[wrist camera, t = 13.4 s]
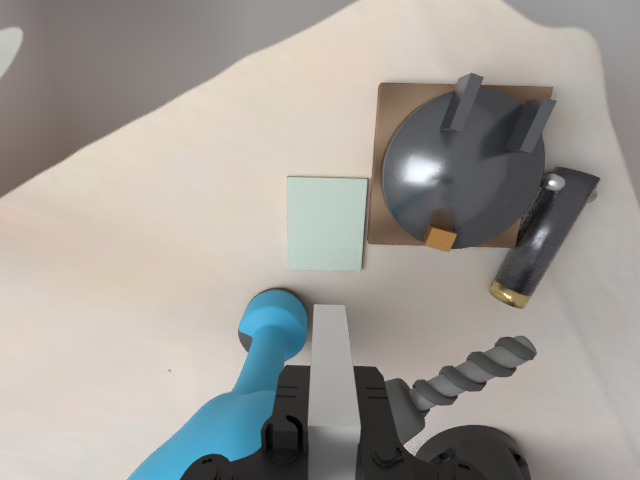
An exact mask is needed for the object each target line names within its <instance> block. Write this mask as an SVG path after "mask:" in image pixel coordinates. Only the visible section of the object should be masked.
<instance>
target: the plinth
mask: <svg viewBox="0 0 640 480" xmlns="http://www.w3.org/2000/svg"><path fill="white" fill-rule="evenodd" d="M455 87H456V85H451V84H410V83H381V84H380V85H379V88H378V101H377V114H376V127H375V140H374V154H373V167H372V180H371V193H370V206H369V220H368V233H367V241H368V243H369V244H382V245H422V246H425V245H424V244H423V243H422V242H421V241H419V240H417V239H415V238H414V237H412V236H411V235H410V234H408V233H407V232H406V231H405V230H404V229H403V228H402V227H401V226H400V225H399V224H398V222H397V221H396V220H395V219H394V217H393V216H392V215H391V213H390V211H389V210H388V208H387V206H386V204H385V201H384V198H383V195H382V191H381V183H380V170H381V162H382V158H383V154H384V151H385V148H386V146H387V144H388V141H389V139H390V138H391V136H392V134H393V132H394V131H395V129H396V128H397V127H398V125H399V124H400V123H401V122H402V121H403V119H404V118H405V117H406V116H407V115H408V114H409V113H411V112H412V111H413V110H414V109H415V108H417V107H418V106H420V105H421V104H423V103H424V102H426V101H428V100H430V99H432V98H434V97H437V96H440V95H443V94H445V93H448V92H451V91H454V90H455ZM480 88H488V89H492V90H496V91H500V92H502V93H505V94H507V95H509V96H511V97H512V98H514V99H516V100H517V101H519V102H520V103H521V104H522V105H523V106H524V105H525V103H526V101H527V100H530V99H536V98H542V97H546V98H549V99H550V97H551V93H552V89H553V87H534V86H493V85H480ZM542 131H543V130H542ZM541 134H542V132H541ZM521 219H522V216H521V217H520V218H519V219H518V220H517V221H516V222H515V223H514V224H513V225H512V226H511V227H510V228H509V229H507V230H506V231H504V232H503V233H502V234H500V235H499V236H497V237H495V238H493V239H491V240H489V241H487V242H484V243H482V244H479V245H476V246H472V247H502V248H515V244H516V239H517V235H518V231H519V227H520V223H521Z"/></svg>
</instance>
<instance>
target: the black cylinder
mask: <svg viewBox="0 0 640 480" xmlns="http://www.w3.org/2000/svg"><path fill="white" fill-rule="evenodd" d="M599 181H600V178H599V177H596V176H593V175H590V174H587V173H583V172H580V171H576V170H572V169H567V168H562V167H556V168H555V169H554V171H553V173H547V174H545V175H543V176H542V179H541V183H540V186H541V187H543V188H544V190H543V192H542V193H541V195H540V197H539V199H538V201H537V203H536V205H535V206H534V208H533V210H532V212H531V214H530V216H529V218H528V219H527V221H526V223H525V225H524V227H523V229H522V230H521V232H520V234H519V236H518V238H517V240H516V244H515V248H512V249H511V251H510V253H509V255H508V256H507V258H506V260H505V262H504V264H503V266H502V268H501V269H500V271H499V273H498V275H497V277H496V279H495V280H494V282H493V284H492V286H491V288H490V290H489V293H490V294H491V295H492V296H494V297H495V298H496V299H498V300H500V301H502V302H503V303H506V304H508V305H510V306H513V307H516V308H520V309H523V308H524V307H525V306H526V304H527V302H528V301H529V299H530V297H531V296H532V294H533V292H534V290H535V289H536V287H537V285H538V284H539V282H540V280H541V279H542V277H543V275H544V274H545V272H546V270H547V269H548V267H549V265H550V263H551V262H552V260H553V258H554V257H555V255H556V253H557V252H558V250H559V248H560V247H561V245H562V243H563V242H564V240H565V238H566V237H567V235H568V233H569V231H570V230H571V228H572V226H573V225H574V223H575V221H576V220H577V218H578V216H579V215H580V213H581V211H582V210H583V208H584V206H585V204H586V203H588V202H592V201H593V200H594V199H595V198H596V197H597V191H596V190H595V188H596V186H597V184H598V183H599Z"/></svg>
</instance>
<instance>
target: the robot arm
mask: <svg viewBox="0 0 640 480" xmlns="http://www.w3.org/2000/svg"><path fill="white" fill-rule="evenodd" d="M180 480H532V479H531V475H530V472H529V468H528V465H527V462H526V460H525V457H524V456H523V454H522V452H521V451H520V449H519V447H518V446H517V444H516V443H515V441H514V440H513V439H512V438H511V437H510V436H509V435H507V434H506V433H504V432H502V431H500V430H498V429H495V428H492V427H488V426H482V425H466V426H459V427H454V428H451V429H448V430H445V431H443V432H441V433H439V434H437V435H435V436H433V437H432V438H430V439H429V440H428V441H427V442H426V443H424V444H423V446H422V447H421V448H420V449H419V450H418V452H417V454H416V456H413V455H412V454H410V453H409V452H408V451H407V450H406V449H405V448H404V446H403V445H402V443H401V442H400V440H399V437H398V435H397V430H396V426H395V422H394V418H393V414H392V410H391V406H390V402H389V400H388V394H387V390H386V386H385V382H384V378H383V376H382V374H381V373H380V372H379V371H378V369H377V368H376V367H370V366H353V362H352V355H351V347H350V339H349V331H348V324H347V316H346V308H345V305H323V304H314V313H313V332H312V351H311V366H297V365H286V366H285V367H284V369H283V370H282V371H281V373H280V374H279V378H278V383H277V389H276V394H275V400H274V405H273V411H272V416H270V417H269V418H268V419H267V420H266V421H265V422H264V424H263V426H262V429H261V447H260V448H259V449H258V450H257V451H256V452H254V453H253V454H251V455H249V456H246V457H244V458H241V459H237V460H234V461H231V462H230V461H229V459H228V458H227V457H225V456H223V455H221V454H208V455H205V456H202V457H200V458H199V459H197V460H196V461H194V462H193V463H192V464H191V465H190V466H189V467H188V468H187V470H186V471H185V472H184V474H183V475H182V477H181V478H180Z"/></svg>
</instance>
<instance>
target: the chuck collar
mask: <svg viewBox="0 0 640 480" xmlns="http://www.w3.org/2000/svg"><path fill="white" fill-rule="evenodd" d="M483 78H484V77H482V76H479V75H475V74H472V73H470V74H468V75H466V76H463V77H461V78H459V80H458V82H457V85H456V87H455V90H454V91H451V92H448V93H445V94H443V95H440V96H437V97H434V98H432V99H430V100H428V101H426V102H424V103H423V104H421V105H420V106H418V107H417V108H415V109H414V110H413V111H412V112H411V113H409V114H408V115H407V116H406V117H405V118H404V119H403V121H402V122H401V123H400V124H399V125H398V127H397V128H396V129H395V131H394V132H393V134H392V136H391V138H390V139H389V141H388V144H387V146H386V148H385V151H384V154H383V158H382V162H381V170H380V183H381V191H382V195H383V198H384V201H385V204H386V206H387V208H388V210H389V211H390V213H391V215H392V216H393V217H394V219H395V220H396V221H397V222H398V224H399V225H400V226H401V227H402V228H403V229H404V230H405V231H406V232H407V233H408V234H410V235H411V236H412V237H414V238H415V239H417V240H419V241H421V242H422V243H423V244H424V245H425V246H428V247H432V248H435V249H439V250H442V251H446V252H449V251H450V249H460V248H467V247H472V246H476V245H479V244H482V243H484V242H487V241H489V240H491V239H493V238H495V237H497V236H499V235H500V234H502V233H503V232H504V231H506V230H507V229H509V228H510V227H511V226H512V225H513V224H514V223H515V222H516V221H517V220H518V219H519V218H520V217H521V216H522V215H523V214H524V212H525V211H526V210H527V208H528V207H529V206H530V204H531V202H532V201H533V199H534V197H535V195H536V193H537V191H538V188H539V186H540V183H541V179H542V176H543V170H544V163H545V151H544V143H543V138H542V134H541V132H542V130H543V128H544V126H545V124H546V122H547V120H548V118H549V116H550V114H551V112H552V110H553V108H554V106H555V103H556V101H555V100H552V99H549V98H546V97H542V98H536V99H530V100H527V101H526V103H525V105H524V106H523V105H522V104H521V103H520V102H519V101H517V100H516V99H514V98H512V97H511V96H509V95H507V94H505V93H502V92H500V91H496V90H492V89H488V88H480V85H481V83H482V80H483Z"/></svg>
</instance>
